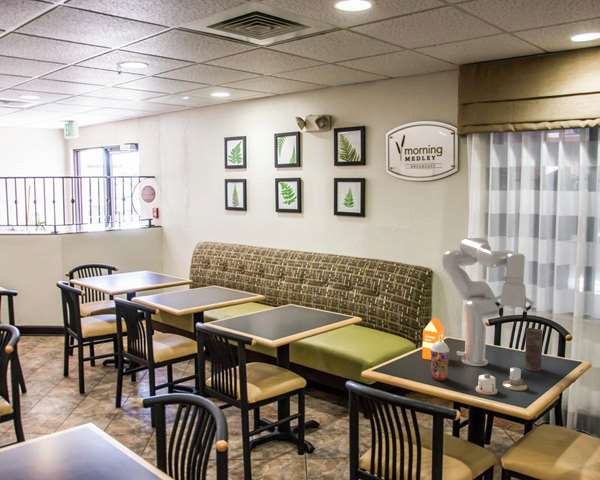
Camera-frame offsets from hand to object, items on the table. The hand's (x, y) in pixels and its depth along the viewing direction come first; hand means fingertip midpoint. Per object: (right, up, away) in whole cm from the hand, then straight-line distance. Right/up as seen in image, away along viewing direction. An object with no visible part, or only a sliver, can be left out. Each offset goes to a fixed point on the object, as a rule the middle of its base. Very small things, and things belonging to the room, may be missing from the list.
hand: (512, 318), depth 250 cm
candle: (+16, -27, +17) cm, 36 cm away
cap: (-15, -29, -11) cm, 34 cm away
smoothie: (-32, -28, +4) cm, 43 cm away
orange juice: (-28, -25, +34) cm, 50 cm away
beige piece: (-1, -29, -6) cm, 30 cm away
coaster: (-15, -30, -11) cm, 35 cm away
